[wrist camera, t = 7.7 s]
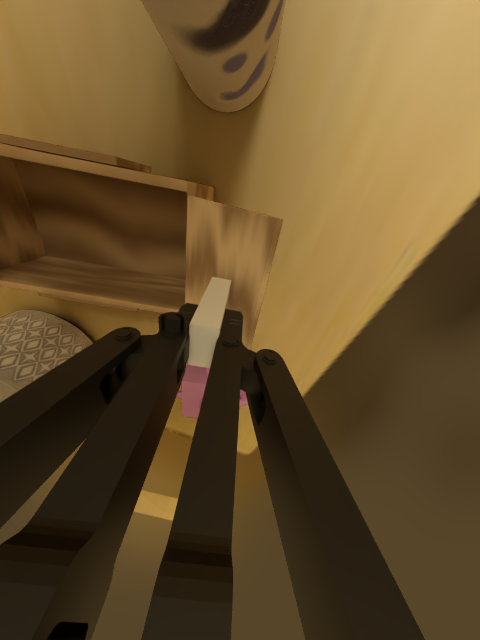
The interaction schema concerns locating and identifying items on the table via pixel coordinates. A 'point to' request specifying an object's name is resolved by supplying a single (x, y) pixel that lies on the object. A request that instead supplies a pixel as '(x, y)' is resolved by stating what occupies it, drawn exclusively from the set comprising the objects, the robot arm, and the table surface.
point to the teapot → (197, 391)
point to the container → (221, 45)
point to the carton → (92, 227)
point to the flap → (230, 255)
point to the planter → (34, 347)
